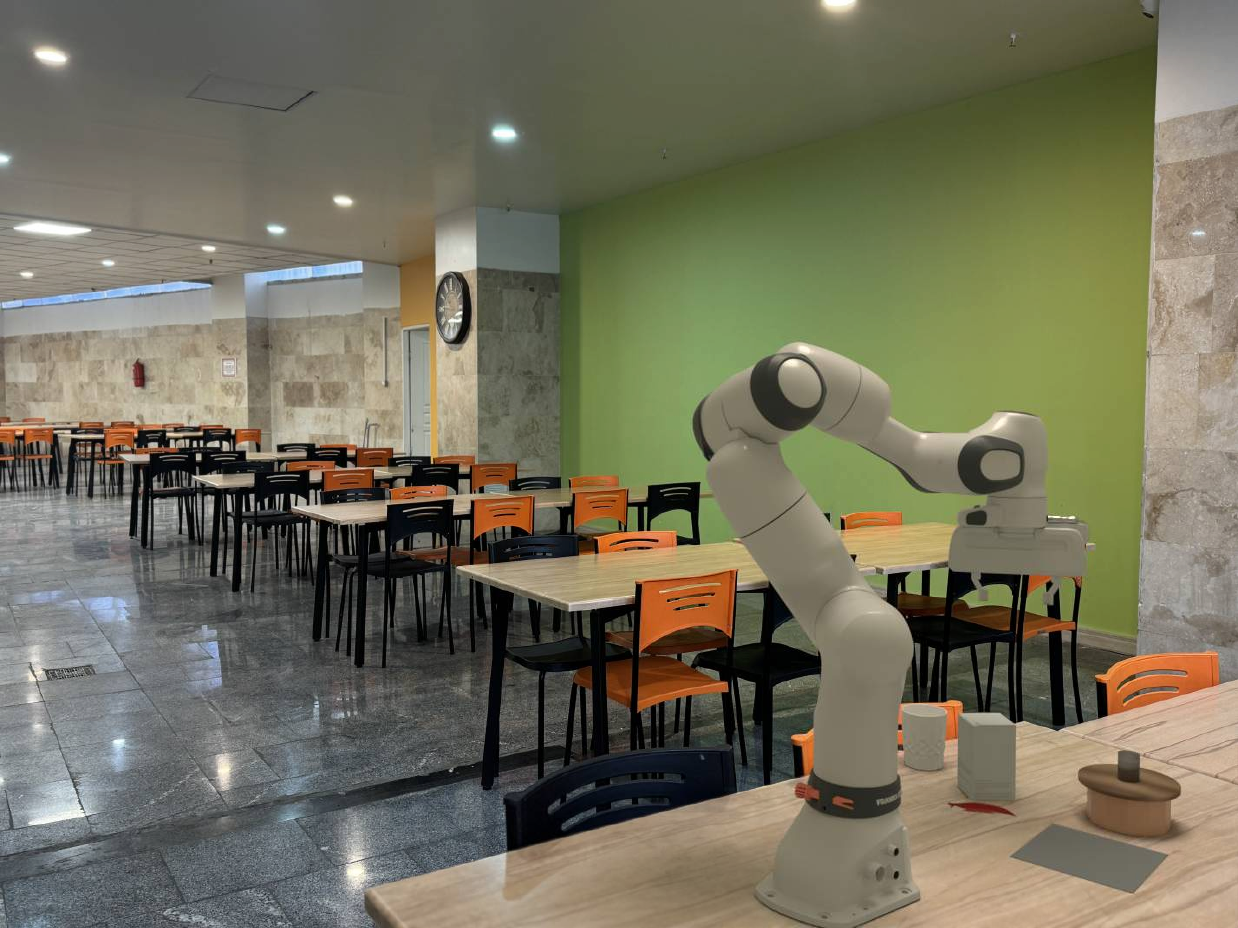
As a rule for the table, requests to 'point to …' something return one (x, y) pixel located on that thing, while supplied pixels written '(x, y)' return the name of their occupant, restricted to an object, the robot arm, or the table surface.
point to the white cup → (924, 736)
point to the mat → (1091, 857)
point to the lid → (1129, 780)
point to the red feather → (981, 808)
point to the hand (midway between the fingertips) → (1015, 602)
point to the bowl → (1129, 814)
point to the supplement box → (986, 756)
